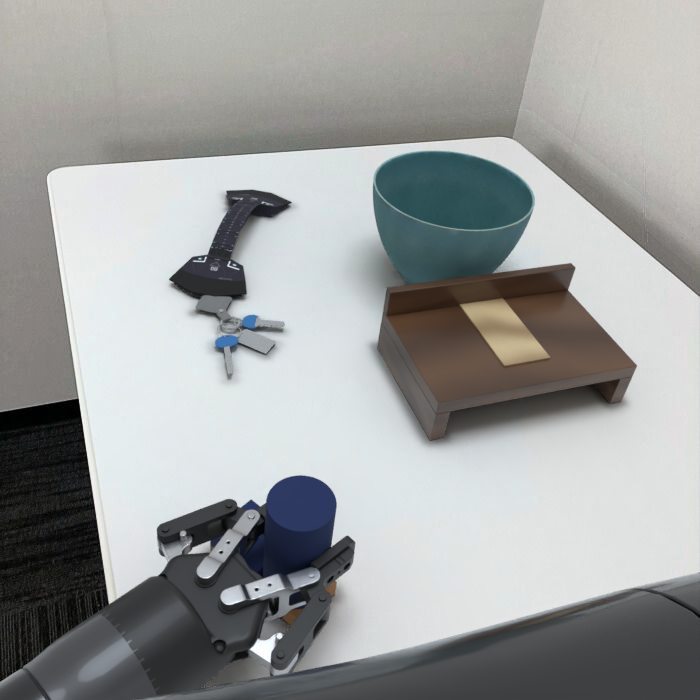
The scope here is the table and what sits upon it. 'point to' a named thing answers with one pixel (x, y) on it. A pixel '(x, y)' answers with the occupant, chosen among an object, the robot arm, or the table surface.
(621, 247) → the table surface
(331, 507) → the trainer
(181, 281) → the dark piece
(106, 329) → the table surface
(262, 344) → the key chain
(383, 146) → the table surface
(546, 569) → the table surface
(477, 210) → the teal bowl
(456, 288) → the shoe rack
